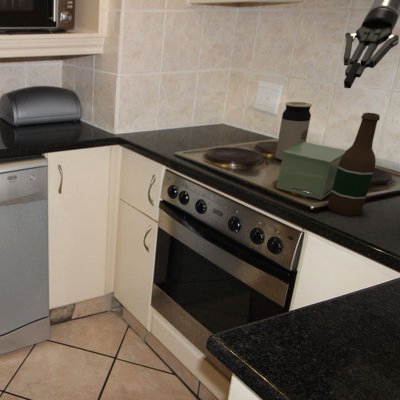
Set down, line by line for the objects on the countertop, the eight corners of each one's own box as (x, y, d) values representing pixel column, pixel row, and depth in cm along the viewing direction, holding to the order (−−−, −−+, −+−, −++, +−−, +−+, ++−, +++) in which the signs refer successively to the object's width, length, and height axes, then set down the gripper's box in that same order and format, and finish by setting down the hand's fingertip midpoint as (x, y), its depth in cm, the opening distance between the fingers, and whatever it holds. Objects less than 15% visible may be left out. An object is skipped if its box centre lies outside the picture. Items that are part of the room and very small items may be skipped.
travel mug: (269, 157, 158) (278, 102, 152) (287, 154, 161) (297, 100, 154) (289, 163, 151) (299, 106, 145) (308, 160, 154) (319, 104, 147)
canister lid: (329, 164, 120) (330, 161, 119) (282, 154, 127) (282, 151, 127) (347, 153, 129) (348, 150, 128) (302, 144, 136) (303, 141, 136)
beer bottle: (355, 205, 121) (383, 111, 112) (367, 217, 114) (398, 118, 105) (321, 202, 123) (346, 109, 113) (331, 214, 116) (359, 116, 106)
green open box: (321, 200, 124) (330, 164, 120) (275, 187, 132) (283, 153, 128) (338, 187, 133) (347, 153, 129) (295, 176, 140) (302, 144, 136)
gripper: (409, 28, 130) (375, 97, 126) (355, 26, 139) (321, 90, 135) (411, 7, 125) (375, 78, 121) (355, 6, 134) (319, 72, 129)
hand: (347, 84), depth 128 cm, fingers closed
